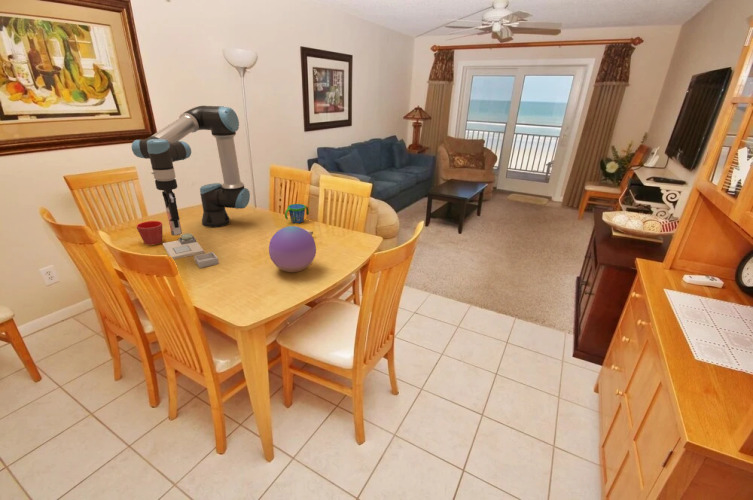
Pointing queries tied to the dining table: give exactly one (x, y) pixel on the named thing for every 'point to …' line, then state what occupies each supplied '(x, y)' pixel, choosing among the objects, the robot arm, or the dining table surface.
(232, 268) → the dining table surface
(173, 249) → the board
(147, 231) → the flower pot
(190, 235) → the button
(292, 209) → the snack cup
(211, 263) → the tray
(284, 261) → the ball
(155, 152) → the robot arm
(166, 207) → the tumbler
